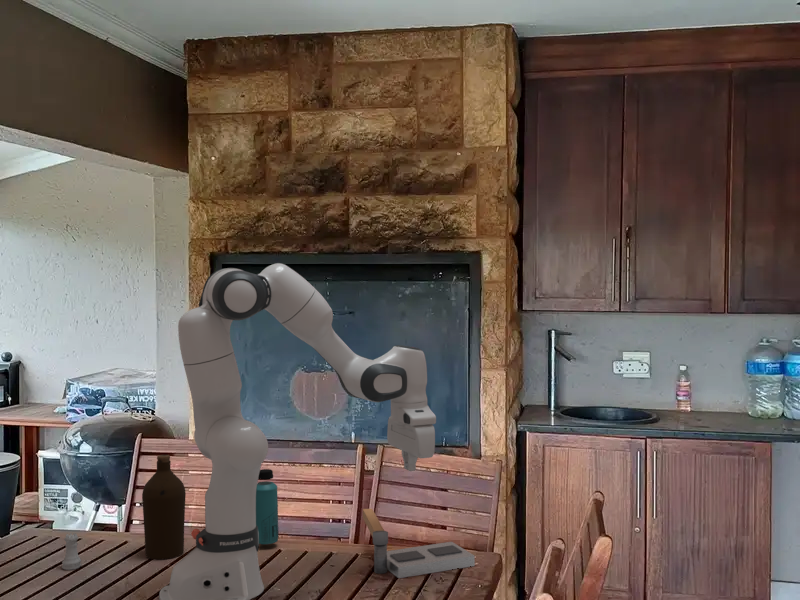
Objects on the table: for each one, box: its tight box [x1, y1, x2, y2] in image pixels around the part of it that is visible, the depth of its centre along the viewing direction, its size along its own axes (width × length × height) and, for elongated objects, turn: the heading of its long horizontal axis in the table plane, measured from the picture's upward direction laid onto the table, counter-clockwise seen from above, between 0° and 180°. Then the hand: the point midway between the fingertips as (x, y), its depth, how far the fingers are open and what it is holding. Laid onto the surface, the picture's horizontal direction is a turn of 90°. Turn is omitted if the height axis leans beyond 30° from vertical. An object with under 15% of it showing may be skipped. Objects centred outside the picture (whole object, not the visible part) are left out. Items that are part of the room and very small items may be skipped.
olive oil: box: [141, 454, 186, 561], centre depth 208 cm, size 11×11×25 cm
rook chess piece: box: [61, 532, 82, 571], centre depth 199 cm, size 4×4×8 cm
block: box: [373, 541, 475, 579], centre depth 198 cm, size 24×12×6 cm, turn 114°
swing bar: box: [362, 508, 389, 545], centre depth 204 cm, size 23×4×2 cm, turn 11°
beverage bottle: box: [256, 468, 280, 545], centre depth 214 cm, size 6×7×20 cm
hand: (409, 470), depth 197 cm, fingers closed
